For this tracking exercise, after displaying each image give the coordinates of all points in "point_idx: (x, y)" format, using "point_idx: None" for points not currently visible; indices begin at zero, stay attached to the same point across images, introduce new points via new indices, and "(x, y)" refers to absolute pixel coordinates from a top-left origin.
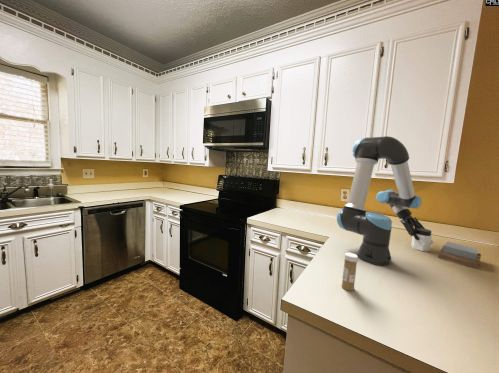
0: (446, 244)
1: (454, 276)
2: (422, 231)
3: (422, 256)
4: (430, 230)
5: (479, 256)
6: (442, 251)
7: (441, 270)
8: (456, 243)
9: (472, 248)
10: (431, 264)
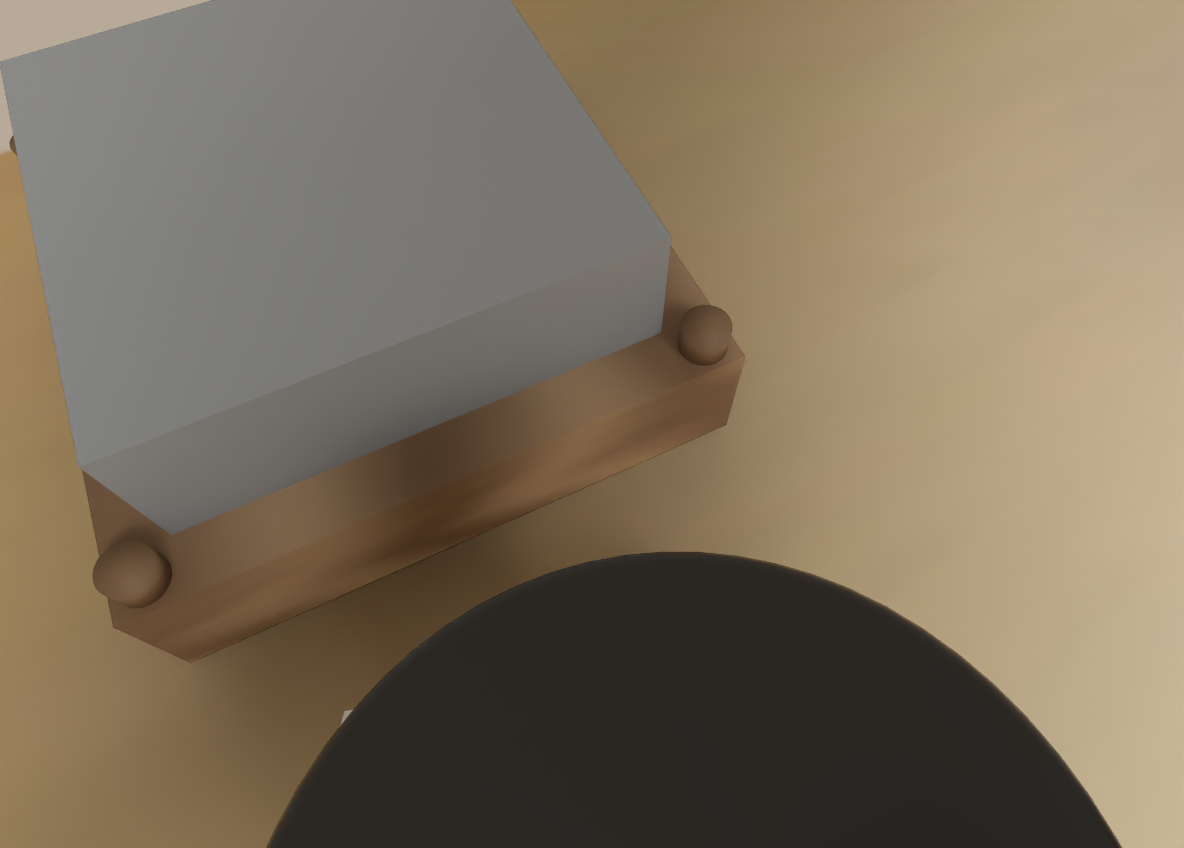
0: (480, 293)
1: (1097, 25)
2: (1029, 724)
3: (1024, 513)
4: (327, 759)
5: None
6: (705, 313)
7: (1138, 127)
8: (51, 314)
9: (128, 75)
10: (1135, 259)
